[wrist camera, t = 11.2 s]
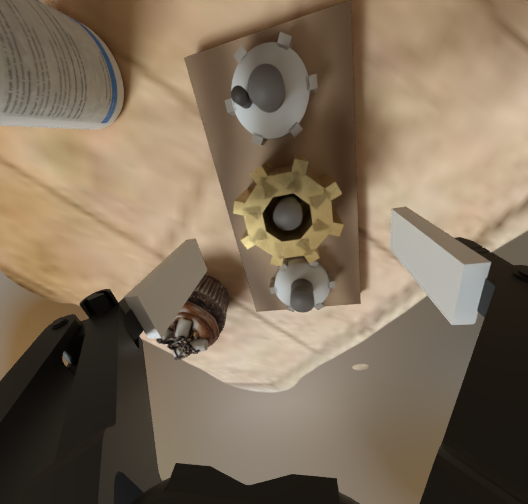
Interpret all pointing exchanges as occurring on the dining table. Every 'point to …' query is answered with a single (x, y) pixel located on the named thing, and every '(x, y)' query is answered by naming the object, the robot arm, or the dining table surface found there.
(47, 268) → the dining table surface
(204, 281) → the cupcake
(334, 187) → the brass gear
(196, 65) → the gear board
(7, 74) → the supplement tub
